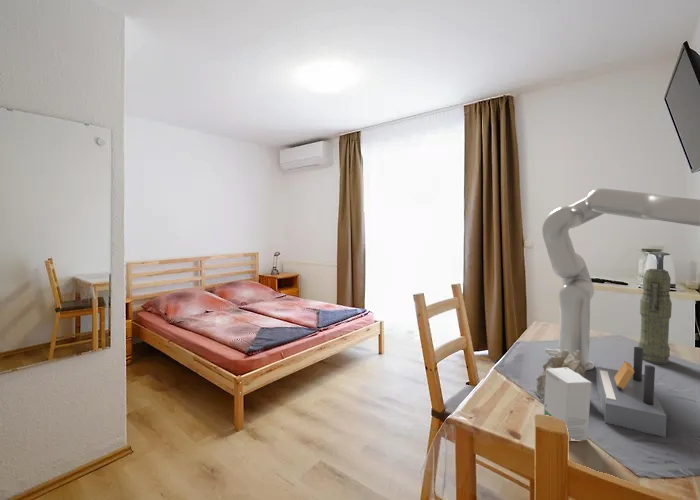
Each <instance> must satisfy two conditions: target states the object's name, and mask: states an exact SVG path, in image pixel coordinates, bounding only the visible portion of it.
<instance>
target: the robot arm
mask: <svg viewBox="0 0 700 500" xmlns="http://www.w3.org/2000/svg"><path fill="white" fill-rule="evenodd" d="M604 214H607V215H613V216H619V217H620V216H621V217H626V218H633V219H637V220H638V219H640V220H645V221H646V220H647V221H648V220H650V221H653V220H654V221H661V222H668V223H669V222H670V223H673V224H674V223H677V224H681V225H682V224H683V225H689V226H695V227H700V199H699V198H698V199H695V198H686V197H680V196H679V197H678V196H669V195H661V194H656V193H648V192H641V191H630V190H623V189H613V188H605V187H603V188H602V187H601V188H599V187H598V188H596V189H593V190H592V191H590V192H589V193H588V194H587V196H586V197H585V198H582V199H581V200H579V201H577V202H574V203H573V204H571V205H562V206H559V207H557V208H556V209H554V210H553V211H551V212H550V213H549V214H548V215H547V216H546V218H545V219H544V222H543V224H542V229H541V230H542V236H543V237H542V238H543V241H544V244H545V247H546V251H547V254H548V257H549V261H550V263H551V268H552V271H553V272H554V274H555V275H556V276H557V277H558V278H561V281H562V284H563V285H562V286H561V288H560V289H559V291H558V305H559V306H558V309H559V327H558V328H559V329H558V331H559V332H558V333H559V334H558V335H559V336H558V347H557V348H555V349H551V348H545V354H548V356H551V357H559V356H561V353H562V350H563V349H566V350H568V352H569V354H570V355H573V353H575V351H576V350H579V351H580V357H581V363H582V365H583V366H584V367H585V369H586V371H590V370H591V371H592V370H593V369H594V368H595V364H594V362H593V361H592V360H590V339H591V337H590V336H591V335H590V334H591V299H592V298H593V297H594V294H595V288H594V284H593V281H592V279H591V275H590V272H589V270H588V267H587V264H586V262H585V259H584V258H583V257H582V255H580V254H579V253H577V252H576V251H575V248H574V245H573V242H572V239H571V237H570V234H569V230H570V229H575V228H577V227H579V226H581V225H583V224H586V223H587V222H590V221H591V220H595V218H599V217H600V216H602V215H604Z"/></svg>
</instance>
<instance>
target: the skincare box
mask: <svg viewBox="0 0 700 500" xmlns="http://www.w3.org/2000/svg"><path fill="white" fill-rule="evenodd" d="M591 392H592V382H591V381H590V380H589V379H587V378H585V377H584V378H583V377H582V376H581V375H580V374H578V373H576V372H574V371H572V370H571V369H569V368H567V367H565V368H549V369H546V381H545V399H544V401H543V402H544V403H543V416H544V415H549V416H553V417H556V418H559V419H561V420H563V421H564V422H565V423H566V425H567V428H568V432H569V441H571V438H572V439H575V440H587V441H588V434H589V423H590V422H589V420H590V407H591V394H592V393H591Z"/></svg>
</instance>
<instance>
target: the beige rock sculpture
mask: <svg viewBox="0 0 700 500" xmlns="http://www.w3.org/2000/svg"><path fill="white" fill-rule="evenodd" d="M542 365H543V366H542V368H543V370H542V372H541V373H542V374H540V375H539V376H538V377H537V378H536V379H535V380H536V381H537V382H536V385H535V387H534V388H533V390H534V393H535V394H536V395H537V396H536V395H535V394H534V393H533V394H534V395H535V396H536V397H538V396H539V397H540V398H541V399H540V398H539V397H538V398H539V399H540V400H542V399H543V400H544V399H545V381H546V369H549V368H565V367H567V368H569V369H571V370H572V371H574V372H576V373H578V374H580V375H581V376H582V377H583V378H585V373H586V372H587V370H586V369H585V367H584V366H583V365H582V363H581V357H580V351H579V350H576V351H575V353H573V355H570V354H569V352H568V350H566V349H563V350H562V353H561V356H559V357H555V356H551V357H550V358H549V360H548V361H547V362H546V363H545V364H542ZM543 400H542V401H543Z"/></svg>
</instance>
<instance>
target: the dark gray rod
mask: <svg viewBox="0 0 700 500" xmlns="http://www.w3.org/2000/svg"><path fill="white" fill-rule="evenodd" d="M655 372H656V367H655V366H654V365H650V364H645V365H644V373H643V375H644V396H643V402H644V403H645V404H648V405H653V402H654V394H655V376H656V375H655Z"/></svg>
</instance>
